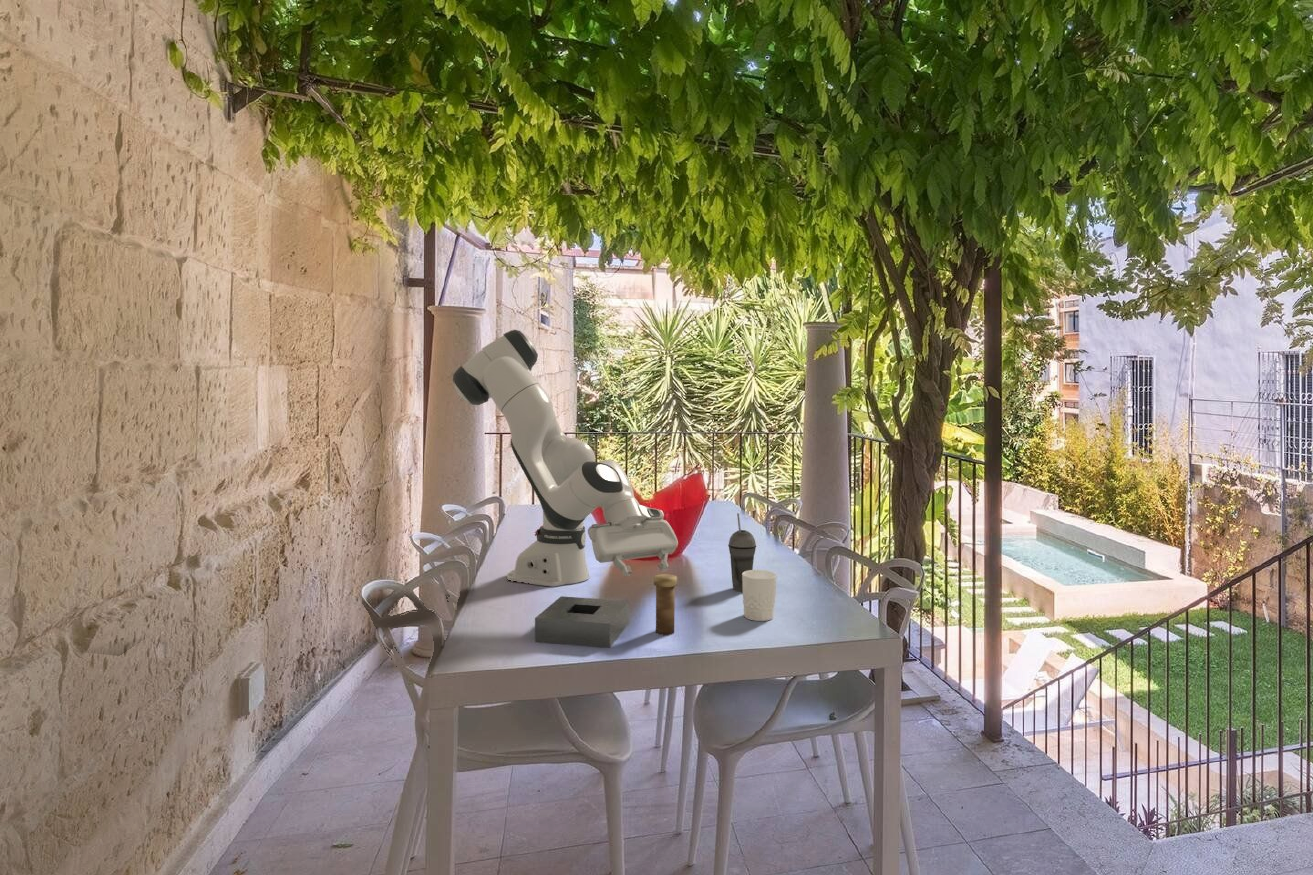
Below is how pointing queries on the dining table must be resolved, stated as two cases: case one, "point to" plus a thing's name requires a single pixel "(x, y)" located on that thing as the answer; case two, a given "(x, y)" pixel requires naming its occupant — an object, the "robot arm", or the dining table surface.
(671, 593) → the brass pin
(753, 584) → the white cup
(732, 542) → the beverage cup
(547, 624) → the hitch block
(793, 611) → the dining table surface
